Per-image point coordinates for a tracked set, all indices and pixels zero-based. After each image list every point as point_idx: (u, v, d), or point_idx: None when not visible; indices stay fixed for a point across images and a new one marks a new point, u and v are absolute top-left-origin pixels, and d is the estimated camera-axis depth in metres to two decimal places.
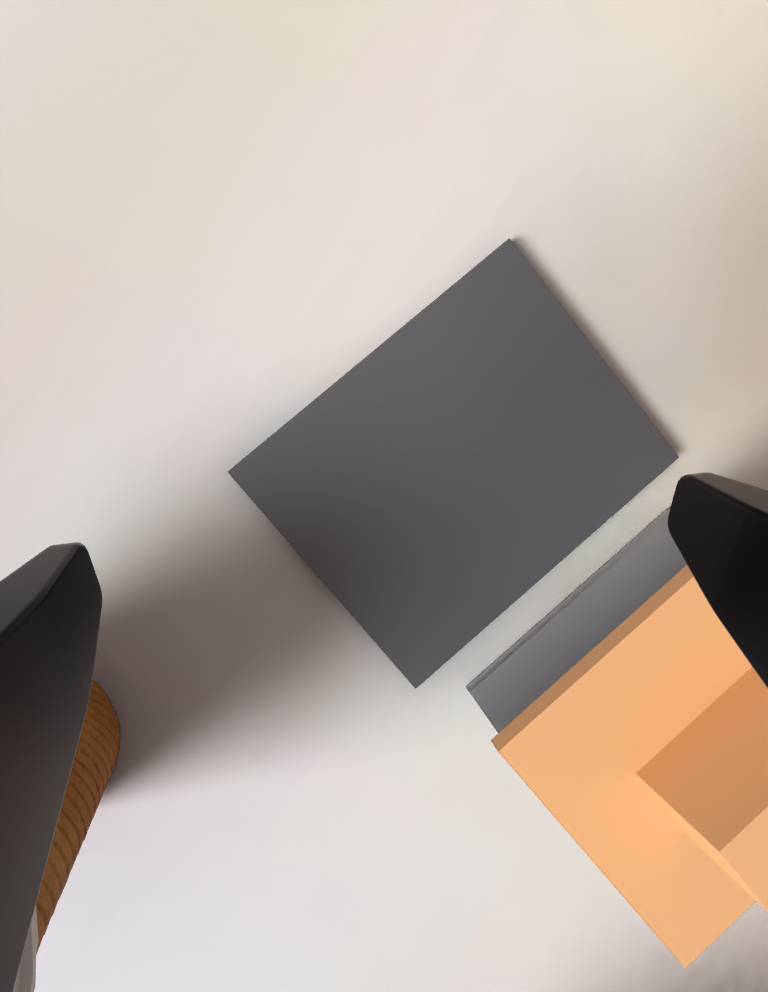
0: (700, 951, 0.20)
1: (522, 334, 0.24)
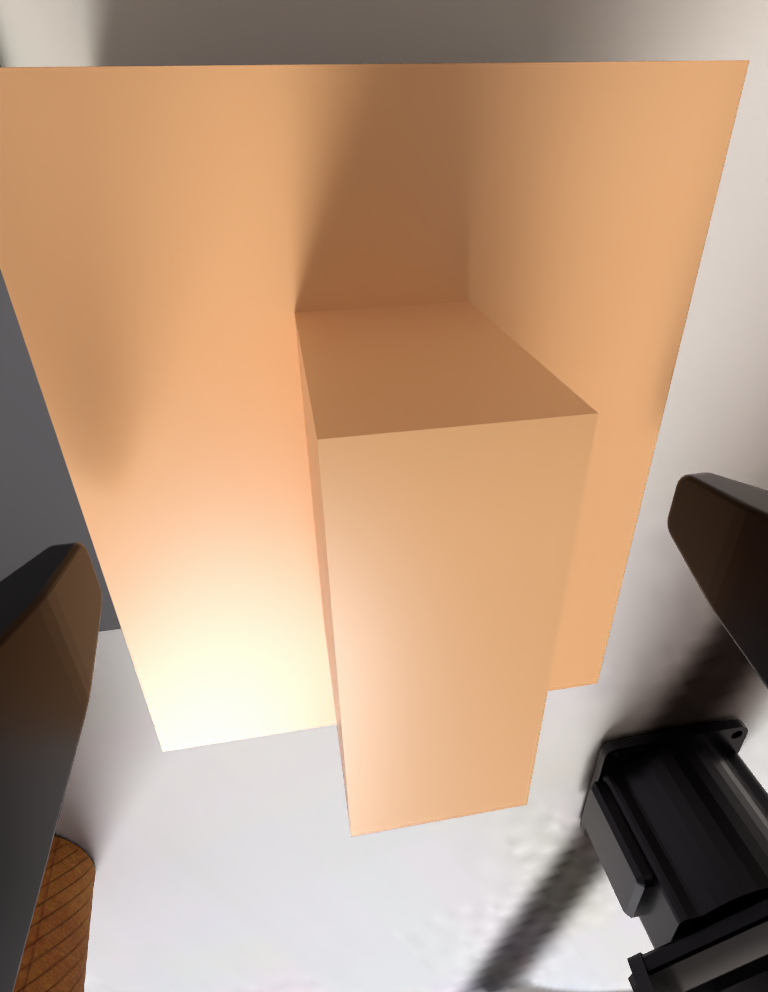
0: (601, 660, 0.14)
1: None
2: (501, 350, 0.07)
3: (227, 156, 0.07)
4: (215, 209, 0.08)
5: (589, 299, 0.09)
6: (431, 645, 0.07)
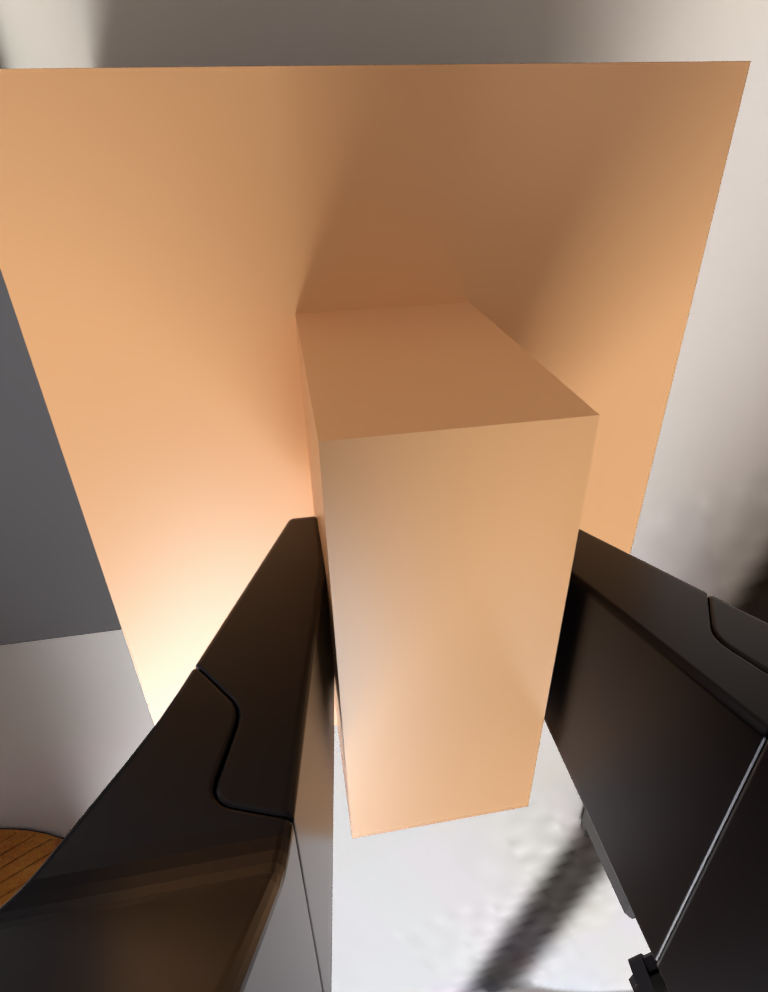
0: None
1: None
2: (502, 351, 0.07)
3: (227, 157, 0.07)
4: (215, 210, 0.08)
5: (590, 300, 0.09)
6: (432, 647, 0.07)
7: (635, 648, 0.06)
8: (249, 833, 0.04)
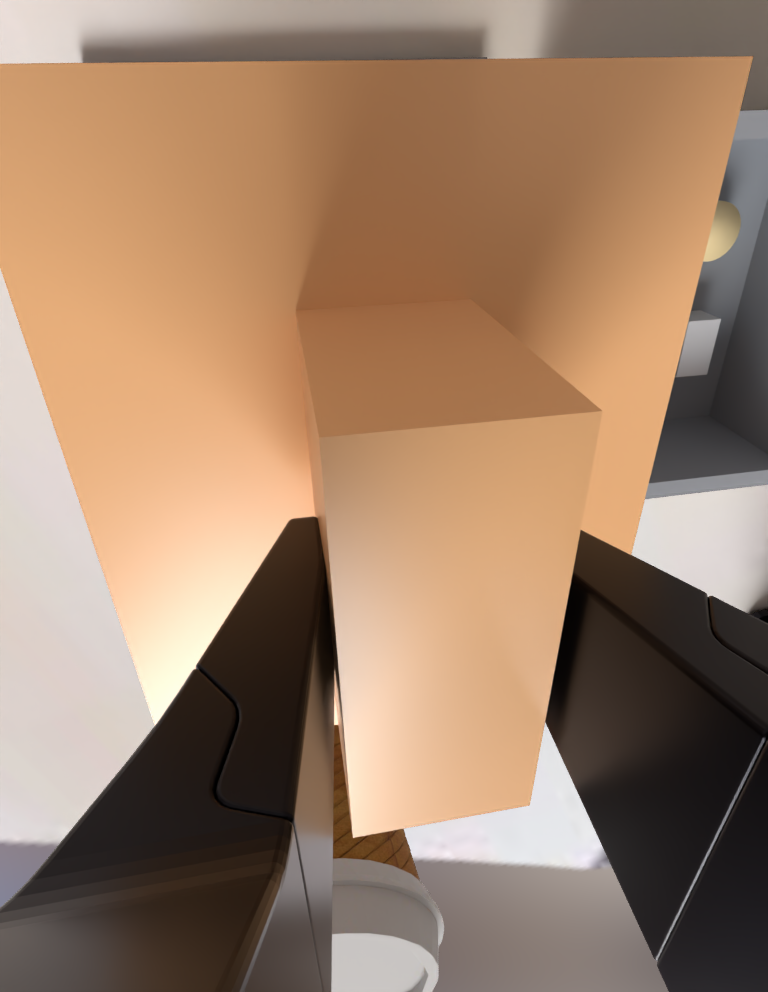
0: None
1: None
2: (504, 348, 0.07)
3: (228, 153, 0.07)
4: (216, 207, 0.08)
5: (592, 297, 0.09)
6: (433, 645, 0.07)
7: (635, 648, 0.06)
8: (250, 833, 0.04)
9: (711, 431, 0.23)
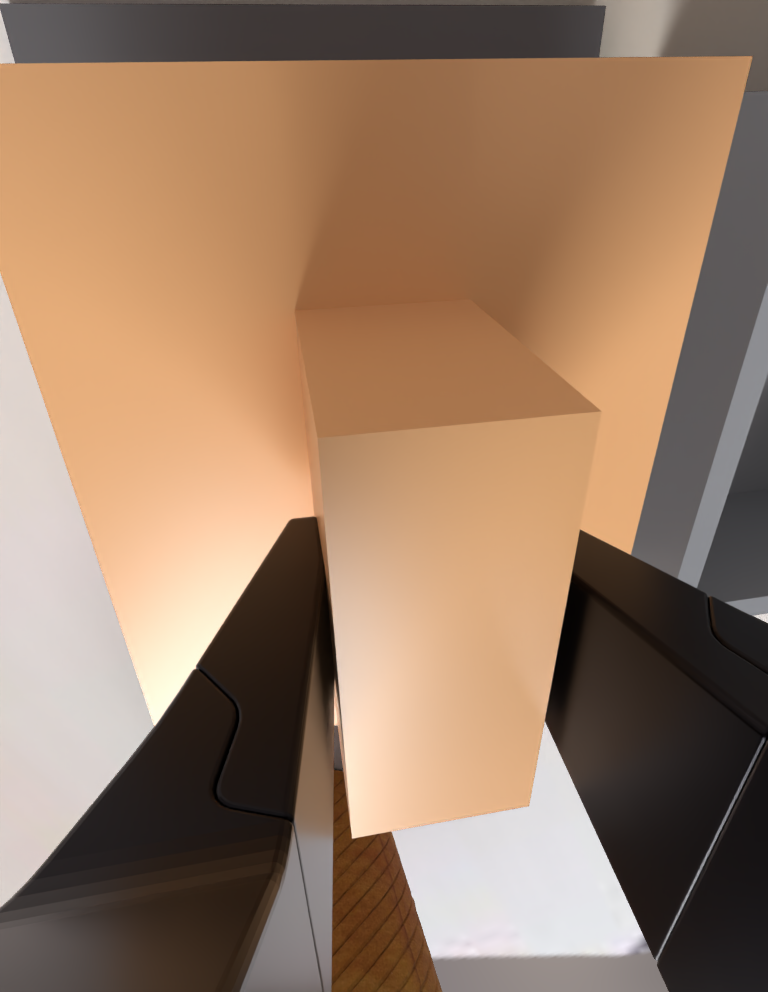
0: None
1: None
2: (503, 348, 0.07)
3: (226, 153, 0.07)
4: (214, 207, 0.08)
5: (591, 297, 0.09)
6: (432, 646, 0.07)
7: (635, 648, 0.06)
8: (250, 832, 0.04)
9: None
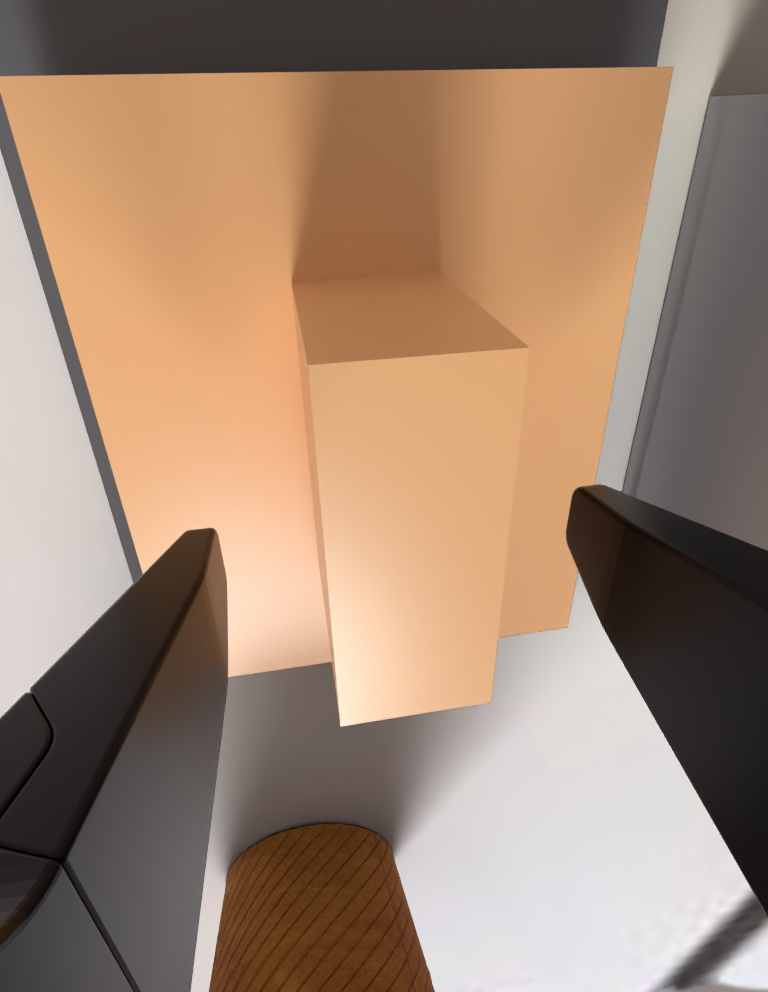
0: (569, 605, 0.15)
1: None
2: (461, 307, 0.08)
3: (234, 148, 0.09)
4: (224, 193, 0.09)
5: (545, 272, 0.11)
6: (402, 548, 0.08)
7: None
8: (9, 877, 0.04)
9: None
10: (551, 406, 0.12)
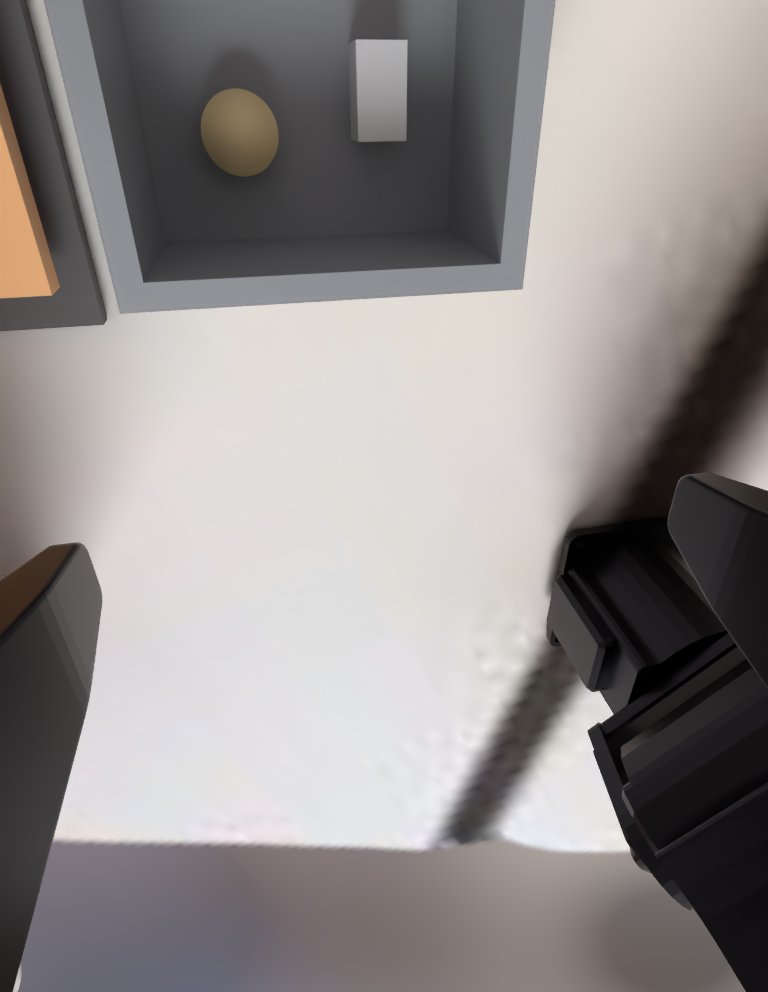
0: (41, 264, 0.15)
1: None
2: None
3: None
4: None
5: None
6: None
7: None
8: None
9: (432, 240, 0.16)
10: None
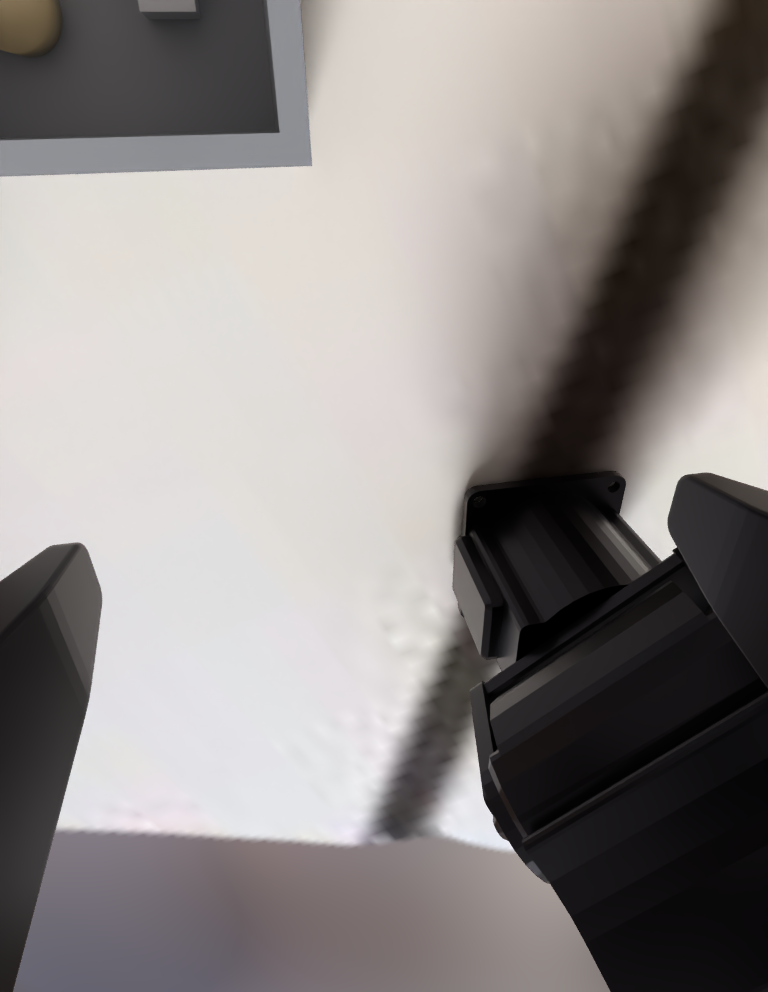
0: None
1: None
2: None
3: None
4: None
5: None
6: None
7: None
8: None
9: None
10: None
